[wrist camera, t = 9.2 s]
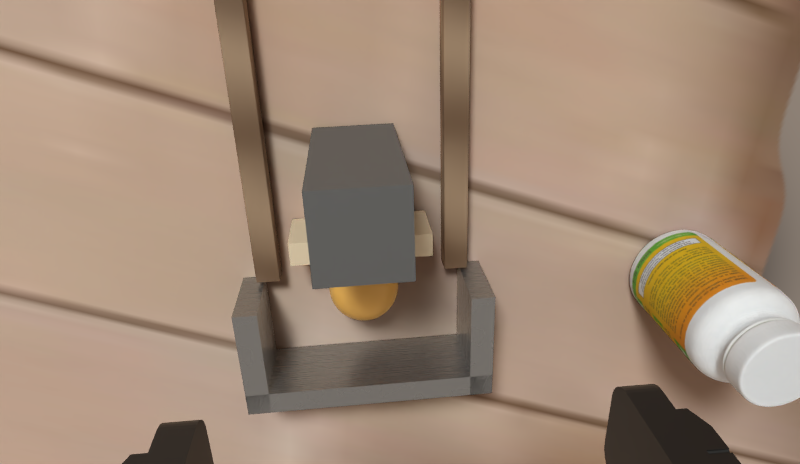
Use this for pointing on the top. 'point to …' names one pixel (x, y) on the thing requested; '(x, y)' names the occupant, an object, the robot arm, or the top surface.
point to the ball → (364, 300)
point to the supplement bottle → (721, 315)
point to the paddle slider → (358, 210)
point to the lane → (252, 140)
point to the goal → (365, 357)
